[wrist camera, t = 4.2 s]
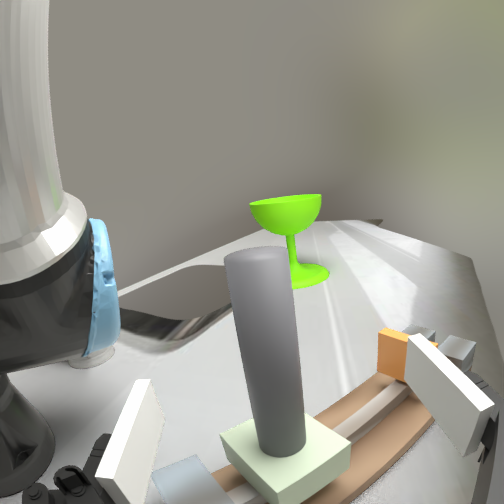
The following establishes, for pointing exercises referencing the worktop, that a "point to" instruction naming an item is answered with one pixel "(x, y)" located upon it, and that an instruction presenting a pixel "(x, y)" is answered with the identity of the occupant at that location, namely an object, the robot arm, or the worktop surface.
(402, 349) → the orange block
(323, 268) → the wineglass
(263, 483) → the carriage
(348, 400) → the rail base
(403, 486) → the worktop surface
